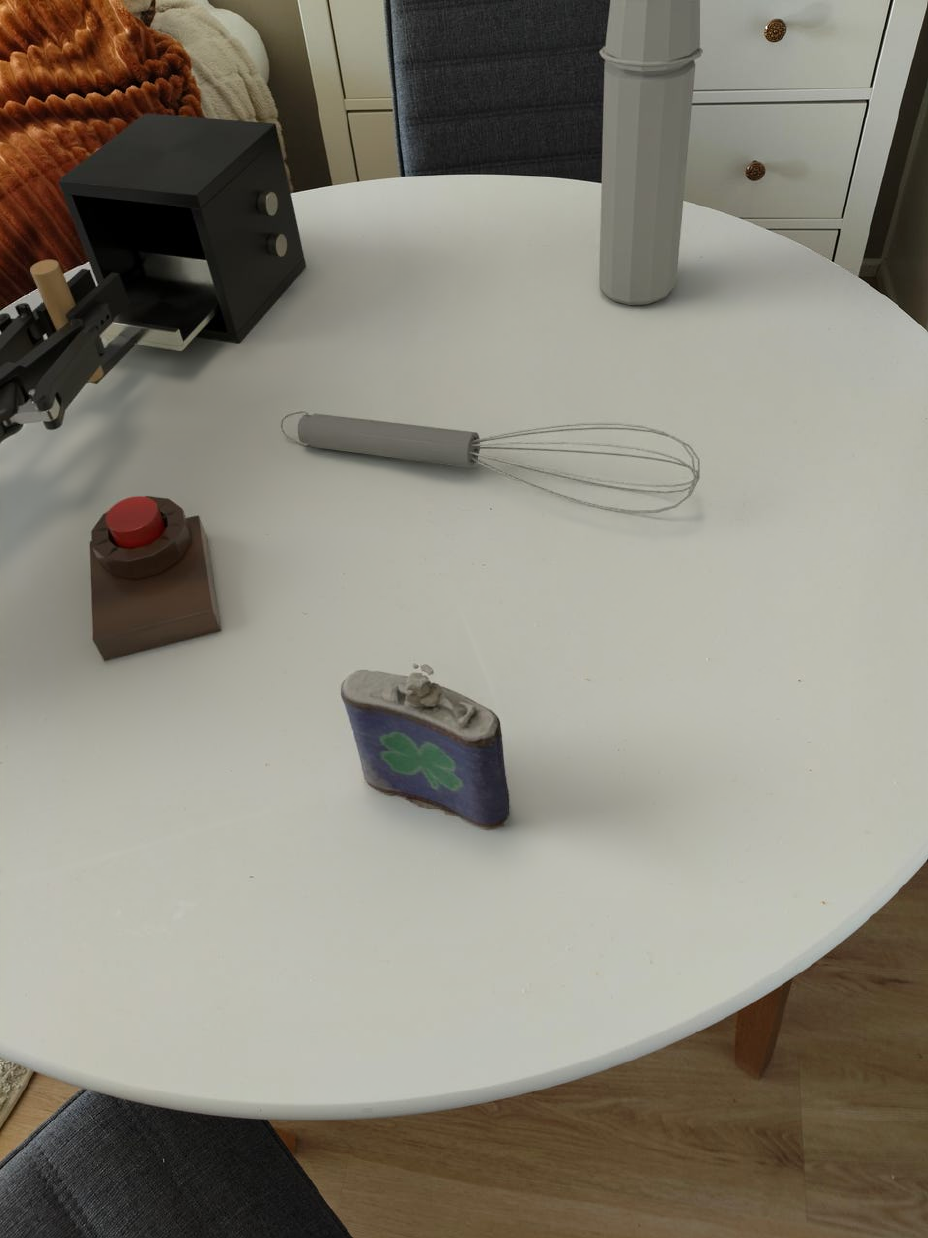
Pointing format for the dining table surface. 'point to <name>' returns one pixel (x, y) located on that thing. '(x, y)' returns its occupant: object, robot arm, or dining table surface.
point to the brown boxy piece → (152, 587)
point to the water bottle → (645, 144)
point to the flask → (428, 745)
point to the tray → (143, 303)
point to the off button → (135, 522)
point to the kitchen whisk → (456, 446)
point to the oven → (193, 209)
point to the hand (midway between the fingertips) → (105, 286)
